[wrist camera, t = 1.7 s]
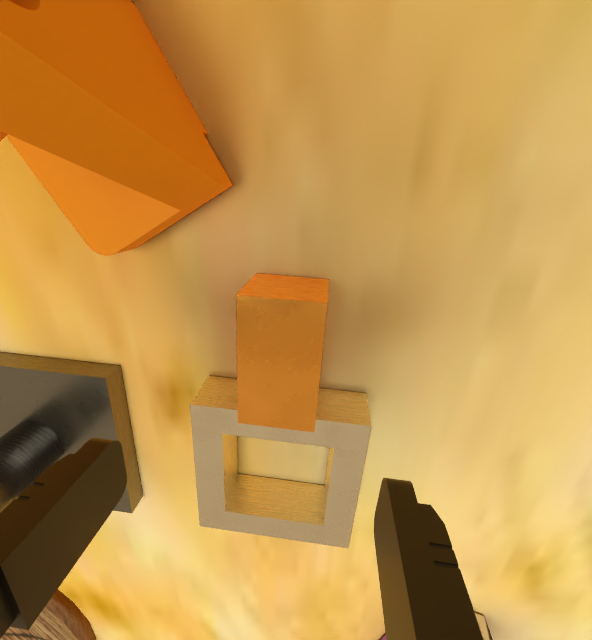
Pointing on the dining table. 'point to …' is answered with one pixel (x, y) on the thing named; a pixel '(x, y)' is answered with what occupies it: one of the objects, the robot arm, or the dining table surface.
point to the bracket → (102, 119)
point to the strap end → (279, 420)
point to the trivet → (55, 623)
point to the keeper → (59, 419)
